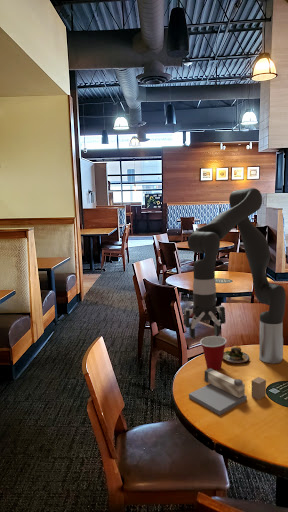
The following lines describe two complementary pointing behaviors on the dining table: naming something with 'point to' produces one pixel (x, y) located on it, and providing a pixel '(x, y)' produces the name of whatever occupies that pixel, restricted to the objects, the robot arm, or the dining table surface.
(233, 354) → the burger
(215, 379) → the folding leg
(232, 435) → the dining table surface
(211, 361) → the plastic cup
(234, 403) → the grey slab beige block
